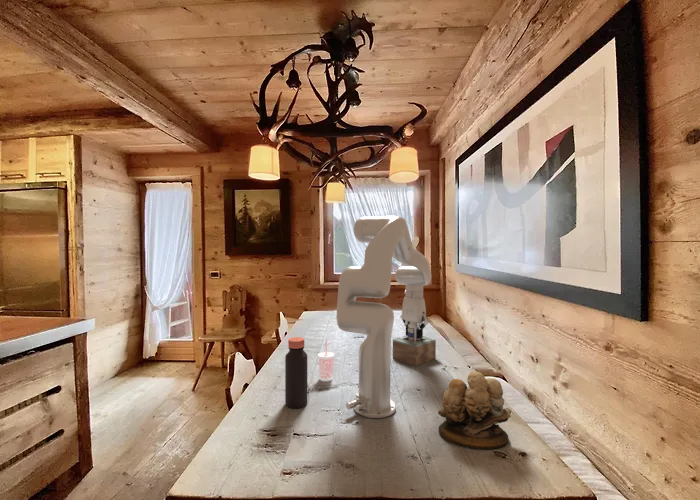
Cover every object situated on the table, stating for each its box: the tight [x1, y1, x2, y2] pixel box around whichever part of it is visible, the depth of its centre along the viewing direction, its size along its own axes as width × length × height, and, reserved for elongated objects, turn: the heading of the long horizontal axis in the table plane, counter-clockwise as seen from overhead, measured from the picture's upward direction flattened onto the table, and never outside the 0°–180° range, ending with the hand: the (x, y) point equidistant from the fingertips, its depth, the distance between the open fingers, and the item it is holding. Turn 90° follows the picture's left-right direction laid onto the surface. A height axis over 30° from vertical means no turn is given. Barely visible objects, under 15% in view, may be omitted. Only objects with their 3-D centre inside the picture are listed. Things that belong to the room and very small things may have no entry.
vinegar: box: [284, 336, 308, 410], centre depth 101 cm, size 7×7×20 cm
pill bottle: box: [408, 321, 421, 343], centre depth 142 cm, size 5×5×10 cm
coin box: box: [392, 335, 437, 367], centre depth 142 cm, size 14×12×8 cm
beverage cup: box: [317, 340, 335, 382], centre depth 120 cm, size 6×6×14 cm
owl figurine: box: [437, 370, 513, 451], centre depth 84 cm, size 18×12×17 cm, turn 83°
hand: (414, 336), depth 142 cm, fingers closed on pill bottle, 5 cm apart
